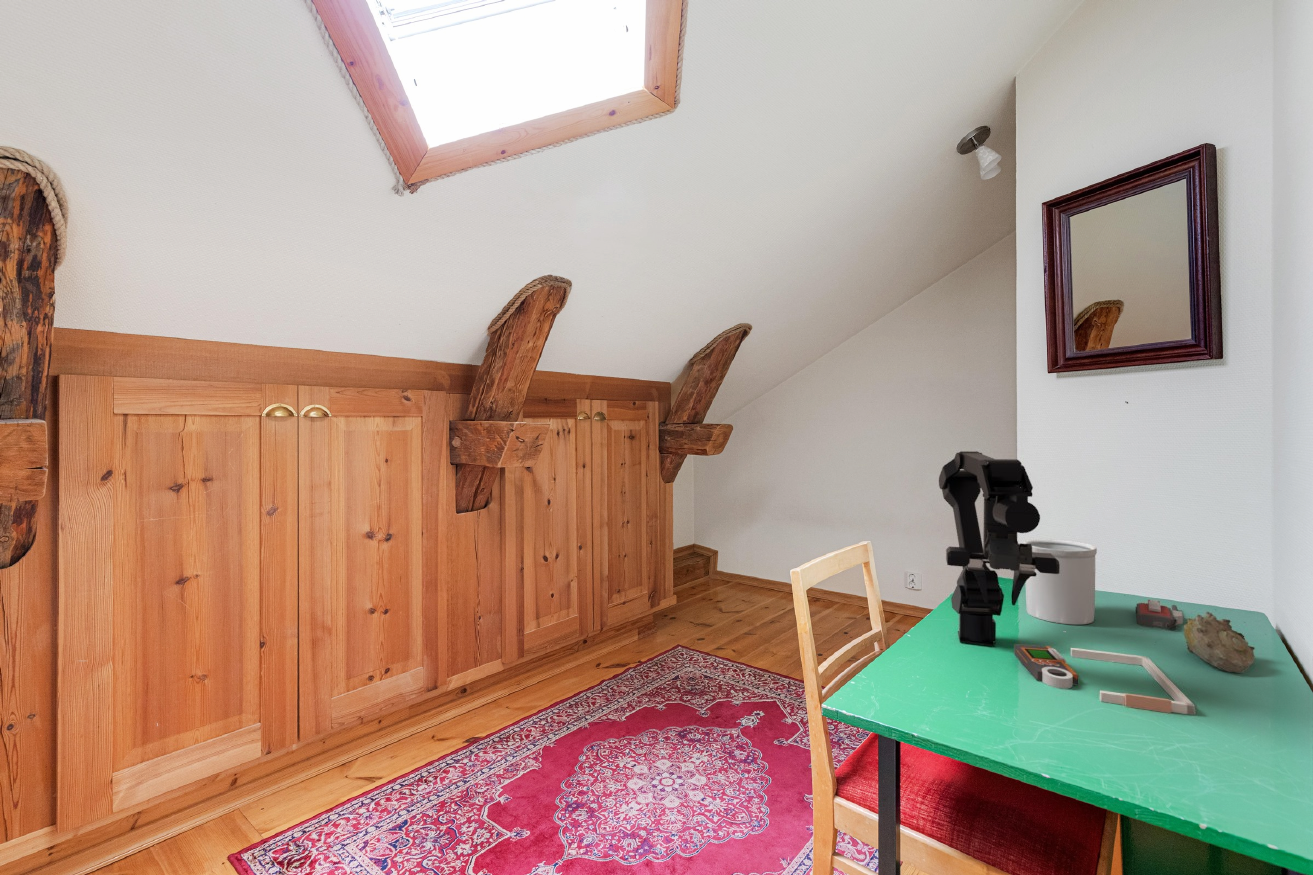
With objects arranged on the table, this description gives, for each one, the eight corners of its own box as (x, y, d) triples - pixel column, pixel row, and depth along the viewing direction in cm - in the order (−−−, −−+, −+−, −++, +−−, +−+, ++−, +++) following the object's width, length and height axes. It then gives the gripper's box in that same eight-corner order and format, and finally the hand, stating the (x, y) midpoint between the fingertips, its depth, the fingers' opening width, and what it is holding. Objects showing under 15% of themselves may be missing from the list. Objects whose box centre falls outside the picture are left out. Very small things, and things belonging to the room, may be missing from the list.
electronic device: (1042, 675, 108) (1013, 641, 123) (1042, 691, 109) (1013, 655, 123) (1085, 678, 107) (1051, 643, 121) (1085, 694, 107) (1051, 658, 122)
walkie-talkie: (1187, 635, 135) (1179, 612, 151) (1187, 616, 134) (1180, 594, 150) (1136, 627, 140) (1134, 606, 156) (1136, 608, 140) (1134, 589, 156)
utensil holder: (1010, 612, 150) (1011, 542, 149) (1042, 603, 158) (1043, 536, 157) (1076, 630, 137) (1077, 553, 137) (1107, 618, 145) (1109, 546, 144)
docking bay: (1102, 702, 102) (1102, 691, 102) (1070, 654, 123) (1070, 645, 123) (1196, 716, 97) (1196, 704, 97) (1147, 664, 118) (1147, 654, 118)
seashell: (1185, 674, 116) (1188, 624, 115) (1177, 643, 128) (1180, 598, 127) (1265, 690, 110) (1270, 637, 109) (1249, 656, 122) (1253, 609, 120)
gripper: (949, 527, 114) (948, 609, 114) (1066, 534, 106) (1065, 622, 107) (946, 518, 124) (945, 594, 124) (1053, 524, 117) (1052, 604, 117)
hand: (999, 603), depth 118 cm, fingers open, 4 cm apart
